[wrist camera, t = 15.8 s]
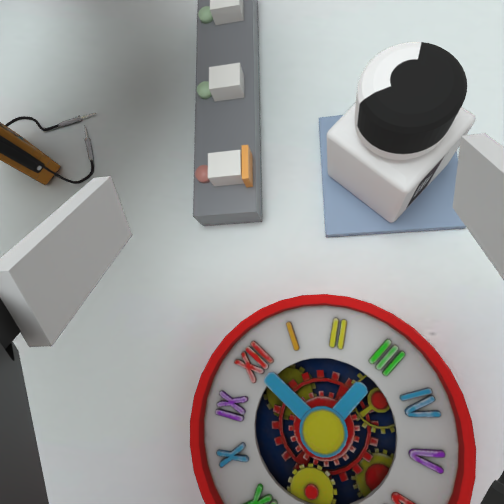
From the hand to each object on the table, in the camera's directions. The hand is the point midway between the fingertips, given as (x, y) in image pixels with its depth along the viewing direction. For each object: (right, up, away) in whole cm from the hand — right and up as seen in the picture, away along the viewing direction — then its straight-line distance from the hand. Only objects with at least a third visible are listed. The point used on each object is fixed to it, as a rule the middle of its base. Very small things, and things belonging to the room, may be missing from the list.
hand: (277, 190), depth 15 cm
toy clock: (+5, -17, +19) cm, 26 cm away
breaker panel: (-3, +13, +27) cm, 30 cm away
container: (+11, +5, +22) cm, 25 cm away
